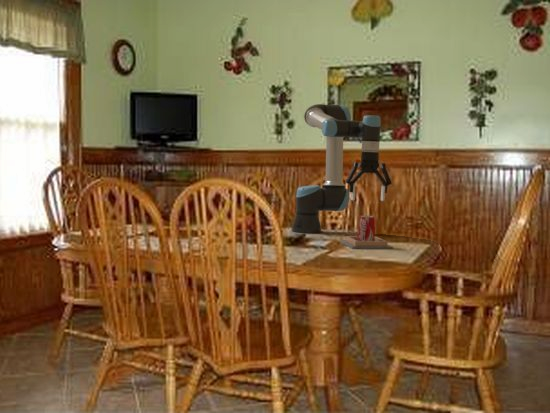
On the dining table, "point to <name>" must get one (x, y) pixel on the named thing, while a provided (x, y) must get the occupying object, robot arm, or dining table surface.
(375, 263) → the dining table surface
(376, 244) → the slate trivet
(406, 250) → the dining table surface
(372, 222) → the soda can
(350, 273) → the dining table surface
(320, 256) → the dining table surface
